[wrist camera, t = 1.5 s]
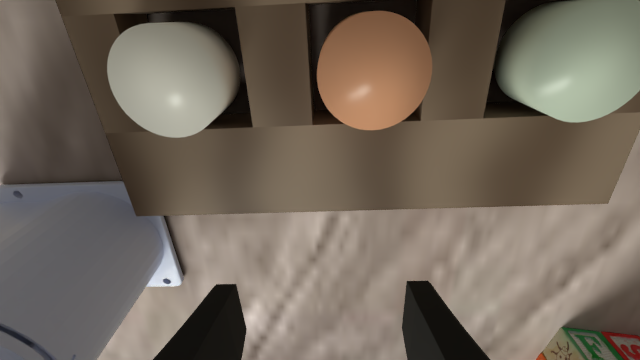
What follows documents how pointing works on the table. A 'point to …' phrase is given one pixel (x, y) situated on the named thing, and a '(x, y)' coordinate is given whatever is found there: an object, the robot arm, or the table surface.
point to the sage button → (572, 58)
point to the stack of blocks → (591, 346)
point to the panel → (342, 140)
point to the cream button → (173, 76)
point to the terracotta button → (374, 69)
